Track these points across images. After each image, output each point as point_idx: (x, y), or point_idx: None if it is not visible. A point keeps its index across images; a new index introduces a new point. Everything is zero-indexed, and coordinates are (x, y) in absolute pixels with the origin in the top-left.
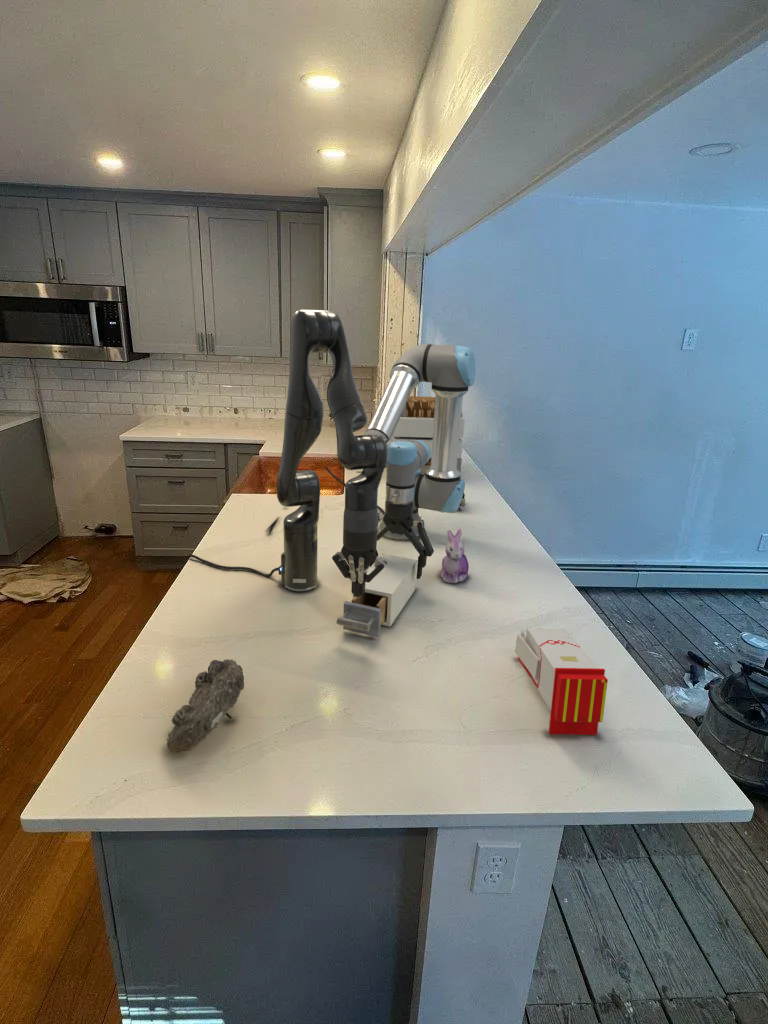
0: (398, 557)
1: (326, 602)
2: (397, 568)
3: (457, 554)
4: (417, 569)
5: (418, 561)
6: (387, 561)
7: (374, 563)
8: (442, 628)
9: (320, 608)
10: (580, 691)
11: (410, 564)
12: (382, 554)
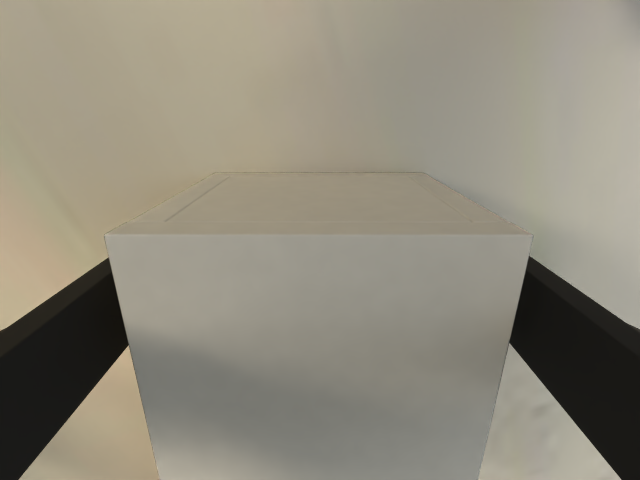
0: (311, 261)
1: (98, 432)
2: (377, 464)
3: None
4: (536, 371)
5: (602, 445)
6: (244, 384)
7: (160, 454)
8: (581, 434)
9: (108, 470)
10: None
11: (473, 361)
12: (117, 263)
